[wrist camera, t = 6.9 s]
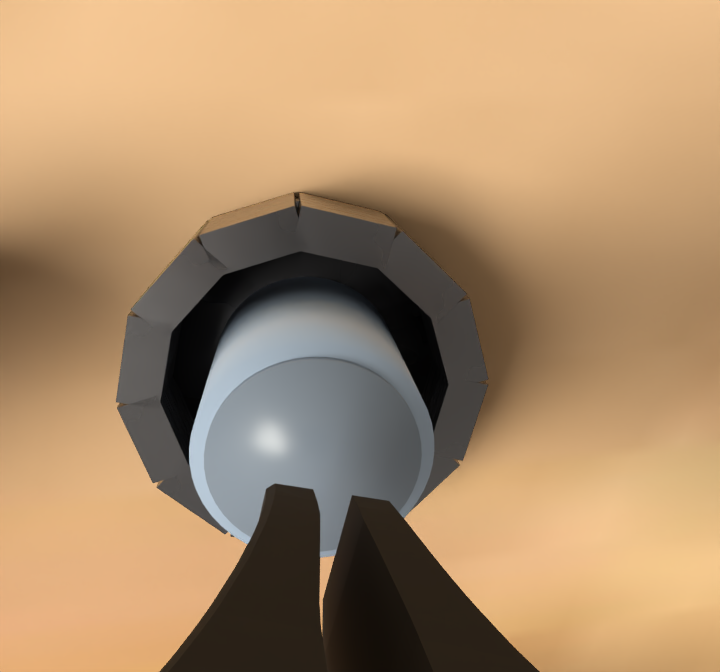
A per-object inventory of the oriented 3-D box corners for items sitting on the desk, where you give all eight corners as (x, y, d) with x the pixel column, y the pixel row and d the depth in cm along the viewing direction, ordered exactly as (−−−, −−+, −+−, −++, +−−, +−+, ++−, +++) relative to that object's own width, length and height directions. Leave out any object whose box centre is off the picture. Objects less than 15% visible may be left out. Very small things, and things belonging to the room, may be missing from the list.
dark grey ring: (411, 508, 20) (428, 563, 17) (124, 465, 18) (99, 518, 16) (495, 238, 17) (530, 258, 15) (170, 161, 16) (148, 169, 13)
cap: (368, 455, 18) (398, 579, 13) (201, 424, 17) (167, 545, 12) (415, 299, 17) (468, 374, 12) (236, 257, 16) (213, 320, 11)
